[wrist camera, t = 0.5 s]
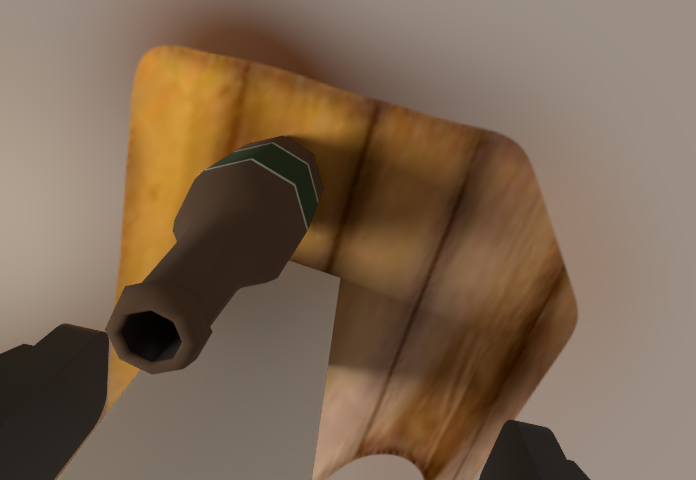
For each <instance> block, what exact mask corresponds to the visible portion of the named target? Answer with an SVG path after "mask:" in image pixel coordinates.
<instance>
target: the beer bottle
mask: <svg viewBox="0 0 696 480" xmlns="http://www.w3.org/2000/svg"><path fill="white" fill-rule="evenodd" d="M322 189H323V187H322V183H321V179H320V176H319V172H318V168H317V164H316V160H315V157H314V154H312V153H311V152H309V151H308V150H306V149H304V148H303V147H301V146H299V145H298V144H296V143H295V142H293V141H291V140H290V139H288V138H287V137H285V136H279V137H275V138H271V139H267V140H263V141H258V142H254V143H250V144H247V145H245V146H243V147H241V148H239V149H238V150H236V151H235V152H233V153H231V154H230V155H228V156H227V157H225V158H223V159H222V160H220V161H219V162H217V163H215V164H214V165H212V166H211V167H209V168H207V169H206V170H204V171H203V172H202V173H201V174H200V175H199V176H198V177H197V178H196V179H195V180H194V182H193V184H192V186H191V188H190V190H189V192H188V194H187V196H186V198H185V200H184V202H183V204H182V206H181V208H180V210H179V212H178V214H177V216H176V218H175V220H174V227H173V232H174V235H175V237H176V240H177V243H176V244H175V245H174V246H173V248H172V249H171V250H170V251H169V252H168V253H167V254H166V256H165V257H164V258H163V259H162V260H161V261H160V262H159V264H158V265H157V266H156V267H155V268H154V269H153V270H152V272H151V273H150V274H149V275H148V276H147V277H146V278H145V280H144V281H143V282H142V283H139V284H134V285H130V286H125V288H124V290H123V292H122V294H121V296H120V298H119V301H118V303H117V305H116V307H115V309H114V311H113V313H112V315H111V317H110V320H109V322H108V324H107V326H106V328H105V330H106V332H107V334H108V336H109V338H110V341H111V343H112V345H113V347H114V349H115V351H116V353H117V355H118V357H119V359H121V360H123V361H125V362H127V363H129V364H131V365H133V366H135V367H137V368H139V369H141V370H143V371H145V372H147V373H149V374H151V375H153V374H158V373H164V372H170V371H176V370H182V369H184V368H186V367H187V366H188V365H190V364H191V363H192V362H194V361H195V360H196V359H197V358H198V356H199V354H200V353H201V351H202V349H203V348H204V346H205V344H206V343H207V341H208V339H209V338H210V336H211V334H212V330H211V327H210V326H211V325H212V324H213V322H214V321H215V320H216V318H217V317H218V316H219V314H220V313H221V312H222V310H223V309H224V308H225V306H226V305H227V304H228V302H229V301H230V300H231V298H232V297H233V296H234V294H235V293H236V292H237V291H238V290H239V289H240V288H243V287H248V286H253V285H258V284H263V283H267V282H270V281H272V280H274V279H277V278H278V277H279V275H280V274H281V272H282V270H283V269H284V267H285V266H286V264H287V262H288V261H289V259H290V258H291V256H292V254H293V253H294V251H295V250H296V248H297V246H298V245H299V243H300V242H301V240H302V238H303V237H304V235H305V234H306V232H307V230H308V228H309V225H310V222H311V220H312V217H313V215H314V212H315V210H316V207H317V204H318V202H319V199H320V197H321V194H322Z"/></svg>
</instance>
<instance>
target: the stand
mask: <svg viewBox="0 0 696 480" xmlns="http://www.w3.org/2000/svg"><path fill="white" fill-rule="evenodd" d="M339 285H340V278H339V277H336V276H334V275H331V274H328V273H325V272H322V271H319V270H316V269H313V268H310V267H307V266H304V265H301V264H298V263H296V262H293V261H290V260H289V261H288V262H287V264H286V266H285V267H284V269H283V270H282V272H281V274H280V275H279V277H278V278H277V279H274V280H272V281H270V282H267V283H263V284H258V285H253V286H248V287H243V288H240V289H239V290H238V291H237V292H236V293H235V294H234V296H233V297H232V298H231V300H230V301H229V302H228V304H227V305H226V306H225V308H224V309H223V310H222V312H221V313H220V314H219V316H218V317H217V318H216V320H215V321H214V322H213V324H212V325H211V326H210V327H211V330H212V334H211V336H210V338H209V339H208V341H207V343H206V344H205V346H204V348H203V349H202V351H201V353H200V354H199V356H198V358H197V359H196V360H195V361H194V362H192V363H191V364H190V365H188V366H187V367H186V368H184V369H182V370H176V371H170V372H164V373H158V374H153V375H151V374H149V373H147V372H145V371H143V370H140V371H139V372H138V374H137V375H136V376H135V378H134V379H133V380H132V382H131V383H130V384H129V385H128V387H127V388H126V389H125V391H124V392H123V393H122V395H121V396H120V397H119V399H118V400H117V401H116V403H115V404H114V405H113V407H112V408H111V409H110V411H109V412H108V413H107V414H106V416H105V417H104V418H103V420H102V421H101V422H100V424H99V425H98V427H97V428H96V429H95V430H94V432H93V433H92V434H91V436H90V437H89V438H88V439H87V441H86V442H85V444H84V445H83V446H82V447H81V449H80V450H79V452H78V453H77V454H76V455H75V457H74V458H73V459H72V461H71V462H70V463H69V465H68V466H67V467H66V469H65V470H64V471H63V473H62V474H61V475H60V477H59V478H58V479H57V480H312V474H313V467H314V460H315V453H316V446H317V439H318V432H319V425H320V418H321V411H322V404H323V397H324V390H325V383H326V376H327V369H328V362H329V355H330V348H331V341H332V334H333V327H334V320H335V313H336V306H337V299H338V292H339Z"/></svg>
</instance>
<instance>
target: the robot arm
mask: <svg viewBox="0 0 696 480" xmlns="http://www.w3.org/2000/svg"><path fill="white" fill-rule="evenodd" d="M108 353H109V338H108V335H107V333H105V332H103V331H98V330H93V329H89V328H84V327H80V326H75V325H71V324H61V325H59V326H58V327H56V328H55V329H54V330H53V331H52V332H50V333H49V334H48V335H47V336H45V337H44V338H43V339H42V340H40V341H39V342H38V343H37V344H36V345H34V346H32V345H27V344H22V345H20V346H18V347H15V348H13V349H11V350H8V351H6V352H4V353H1V354H0V480H54V479H55V477H56V476H57V475H58V473H59V472H60V471H61V469H62V468H63V467H64V466H65V464H66V463H67V462H68V461H69V459H70V458H71V457H72V455H73V454H74V453H75V451H76V450H77V449H78V448H79V446H80V445H81V444H82V442H83V441H84V440H85V438H86V437H87V436H88V435H89V433H90V432H91V431H92V429H93V428H94V426H95V425H96V423H97V421H98V420H99V418H100V415H101V413H102V411H103V408H104V405H105V401H106V396H107V377H108ZM479 480H590V479H589V478H588V477H587V475H586V474H585V473H584V472H583V471H582V470H581V469H580V468H579V467H578V465H577V464H576V463H575V462H574V461H571V460H567V459H566V457H565V455H564V453H563V451H562V449H561V447H560V445H559V443H558V442H557V440H556V438H555V436H554V434H553V432H552V431H551V430H550V429H548V428H546V427H542V426H538V425H533V424H529V423H524V422H519V421H515V420H508V421H507V422H506V423H505V424H504V425H503V427H502V429H501V431H500V433H499V436H498V438H497V440H496V442H495V444H494V446H493V449H492V451H491V453H490V455H489V457H488V459H487V462H486V464H485V466H484V468H483V470H482V473H481V475H480V479H479Z"/></svg>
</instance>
